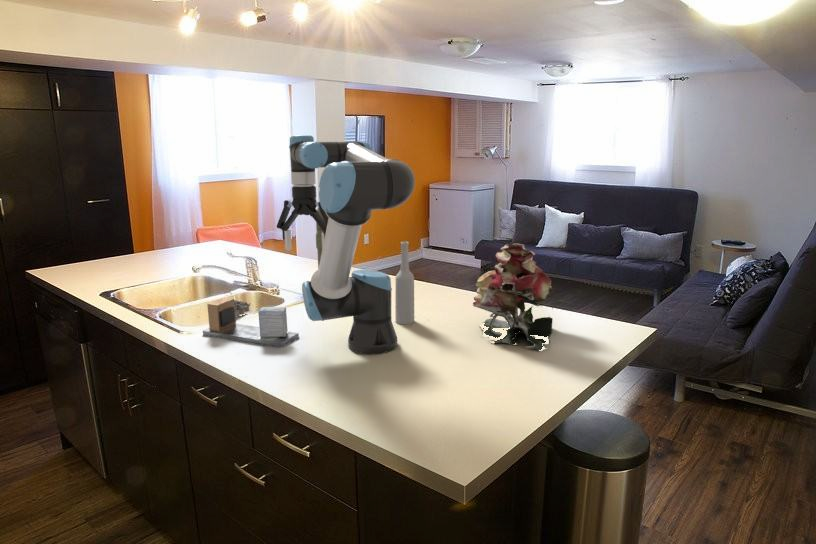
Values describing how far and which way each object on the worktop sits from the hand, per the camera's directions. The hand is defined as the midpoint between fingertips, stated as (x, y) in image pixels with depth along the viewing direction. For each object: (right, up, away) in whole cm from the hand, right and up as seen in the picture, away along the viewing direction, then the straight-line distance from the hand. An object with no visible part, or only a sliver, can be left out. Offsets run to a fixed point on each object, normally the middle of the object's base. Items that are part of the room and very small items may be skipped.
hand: (306, 251), depth 182 cm
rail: (-18, -27, -1) cm, 33 cm away
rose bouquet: (+67, -27, +1) cm, 72 cm away
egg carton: (-30, -22, +23) cm, 44 cm away
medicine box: (-9, -27, -5) cm, 29 cm away
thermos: (-1, -14, +57) cm, 59 cm away
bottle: (+32, -24, +13) cm, 42 cm away
